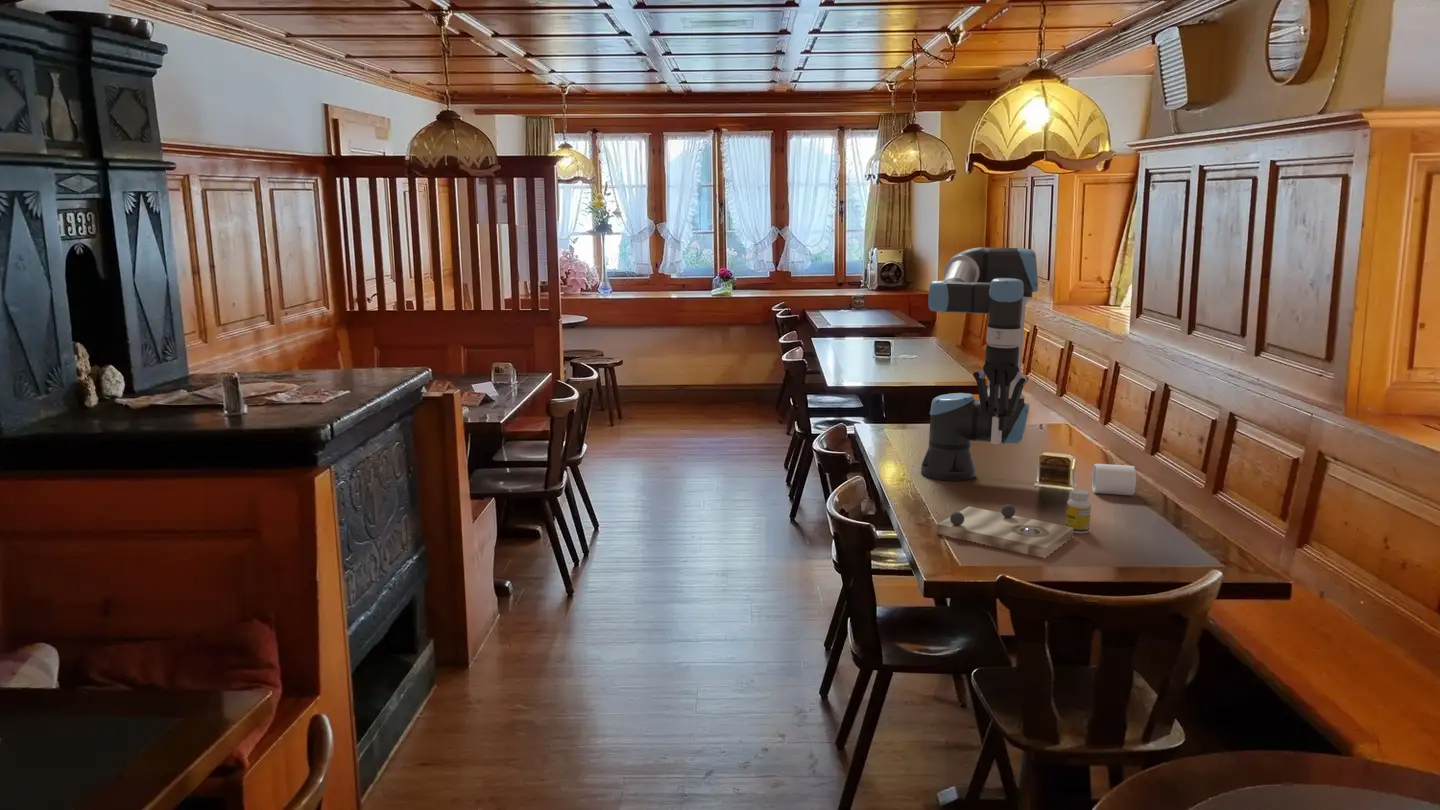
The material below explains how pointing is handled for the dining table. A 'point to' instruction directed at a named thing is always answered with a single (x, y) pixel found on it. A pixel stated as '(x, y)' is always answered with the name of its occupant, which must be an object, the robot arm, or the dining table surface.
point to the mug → (1113, 479)
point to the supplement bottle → (1078, 511)
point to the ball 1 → (957, 518)
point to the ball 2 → (1008, 511)
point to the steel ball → (1029, 531)
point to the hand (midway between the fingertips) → (995, 442)
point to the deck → (1007, 532)
